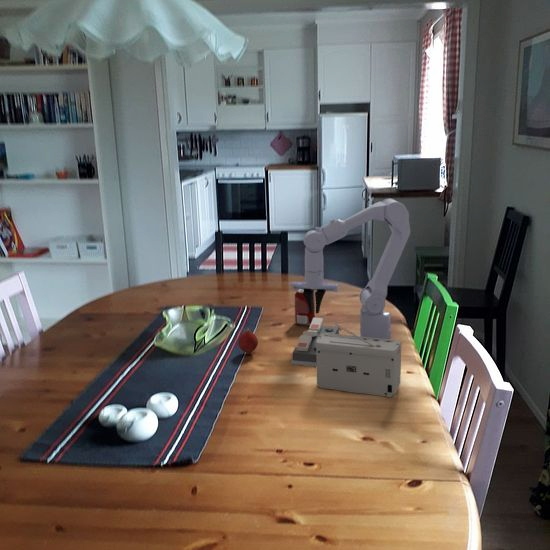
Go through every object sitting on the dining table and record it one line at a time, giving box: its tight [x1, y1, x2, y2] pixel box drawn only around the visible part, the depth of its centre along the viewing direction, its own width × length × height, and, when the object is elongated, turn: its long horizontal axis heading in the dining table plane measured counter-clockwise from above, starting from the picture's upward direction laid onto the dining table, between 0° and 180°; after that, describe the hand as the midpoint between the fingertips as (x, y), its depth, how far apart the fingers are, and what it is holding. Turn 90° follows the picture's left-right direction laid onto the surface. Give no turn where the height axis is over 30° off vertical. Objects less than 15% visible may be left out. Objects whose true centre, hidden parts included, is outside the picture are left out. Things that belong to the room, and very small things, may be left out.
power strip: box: [290, 324, 341, 368], centre depth 170 cm, size 9×27×4 cm, turn 163°
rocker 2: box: [308, 317, 324, 332], centre depth 177 cm, size 3×6×1 cm, turn 163°
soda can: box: [294, 289, 316, 327], centre depth 191 cm, size 7×7×12 cm
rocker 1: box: [295, 334, 312, 351], centre depth 162 cm, size 3×6×1 cm, turn 163°
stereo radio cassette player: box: [316, 314, 402, 398], centre depth 141 cm, size 21×8×20 cm, turn 70°
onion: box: [237, 328, 259, 355], centre depth 166 cm, size 6×6×8 cm
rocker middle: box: [302, 329, 318, 337], centre depth 170 cm, size 3×6×1 cm, turn 163°
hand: (314, 312), depth 174 cm, fingers closed
